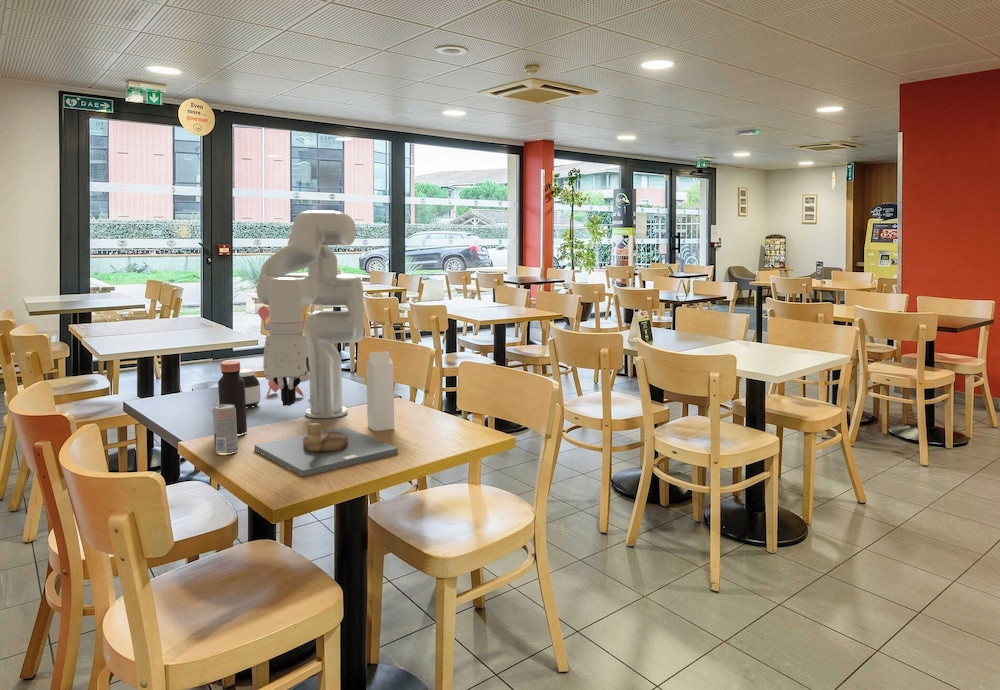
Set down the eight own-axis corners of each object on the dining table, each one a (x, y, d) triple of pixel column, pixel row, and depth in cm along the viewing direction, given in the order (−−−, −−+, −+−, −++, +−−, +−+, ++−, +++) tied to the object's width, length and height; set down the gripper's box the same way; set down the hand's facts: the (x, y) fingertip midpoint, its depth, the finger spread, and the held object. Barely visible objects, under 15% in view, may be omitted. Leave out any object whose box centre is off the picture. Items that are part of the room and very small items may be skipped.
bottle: (222, 438, 189) (218, 365, 186) (219, 432, 195) (215, 361, 192) (248, 435, 192) (245, 363, 189) (245, 429, 198) (241, 359, 195)
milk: (394, 429, 200) (393, 353, 197) (374, 431, 197) (373, 354, 194) (387, 423, 205) (386, 349, 202) (367, 426, 202) (365, 351, 199)
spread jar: (264, 406, 225) (263, 370, 223) (234, 413, 216) (232, 376, 214) (240, 400, 231) (238, 366, 230) (210, 407, 222) (208, 371, 220)
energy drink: (229, 448, 181) (227, 402, 179) (242, 451, 178) (240, 405, 176) (210, 453, 177) (208, 406, 175) (223, 457, 174) (221, 410, 172)
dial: (311, 438, 184) (309, 409, 183) (352, 439, 184) (351, 410, 182) (290, 458, 168) (289, 425, 167) (335, 459, 168) (335, 426, 166)
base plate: (254, 450, 179) (254, 444, 179) (344, 431, 197) (344, 425, 196) (302, 476, 160) (302, 469, 160) (397, 453, 178) (397, 447, 178)
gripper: (249, 330, 165) (252, 406, 168) (309, 331, 163) (312, 409, 166) (263, 326, 173) (266, 400, 175) (322, 328, 171) (324, 402, 173)
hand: (288, 404), depth 170 cm, fingers closed
